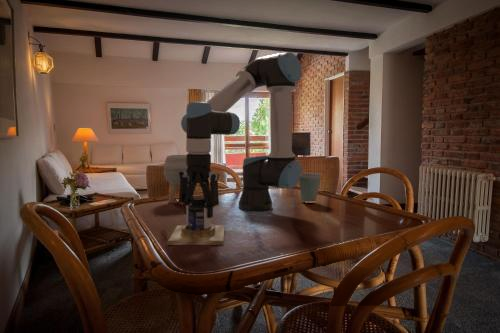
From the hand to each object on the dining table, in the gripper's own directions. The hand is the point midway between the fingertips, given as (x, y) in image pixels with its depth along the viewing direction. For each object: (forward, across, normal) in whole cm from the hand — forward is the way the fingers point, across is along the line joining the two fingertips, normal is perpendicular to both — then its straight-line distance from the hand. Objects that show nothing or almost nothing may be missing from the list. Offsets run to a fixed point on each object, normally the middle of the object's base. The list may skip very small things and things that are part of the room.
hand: (198, 226), depth 99 cm
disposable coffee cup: (+3, -16, -68) cm, 70 cm away
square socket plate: (+3, 0, 0) cm, 3 cm away
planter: (+3, +39, -39) cm, 55 cm away
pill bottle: (+2, 0, 0) cm, 2 cm away
